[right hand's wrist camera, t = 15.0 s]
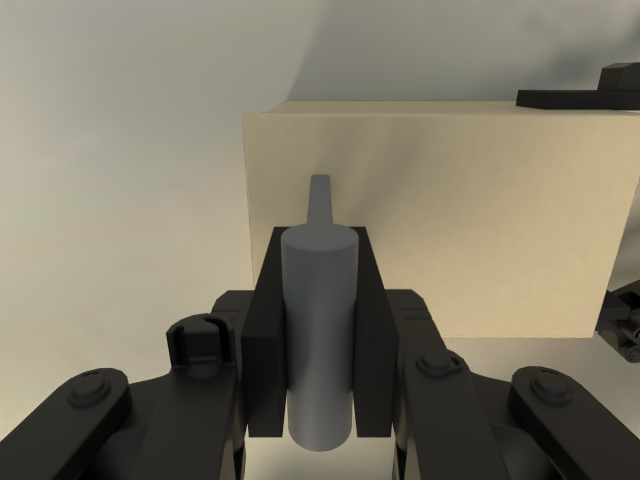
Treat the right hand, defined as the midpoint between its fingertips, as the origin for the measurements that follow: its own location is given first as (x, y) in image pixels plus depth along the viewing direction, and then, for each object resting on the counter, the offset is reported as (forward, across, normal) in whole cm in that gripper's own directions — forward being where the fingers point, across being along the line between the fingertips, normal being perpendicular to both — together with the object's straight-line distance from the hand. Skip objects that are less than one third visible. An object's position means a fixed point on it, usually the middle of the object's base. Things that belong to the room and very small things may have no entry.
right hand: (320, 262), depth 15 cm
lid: (+3, -5, 0) cm, 6 cm away
